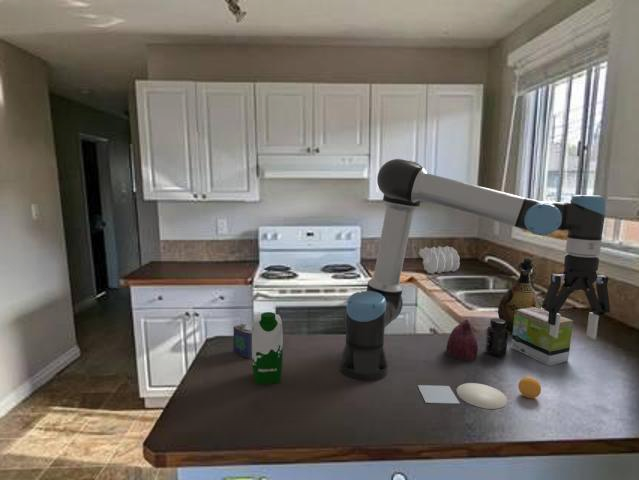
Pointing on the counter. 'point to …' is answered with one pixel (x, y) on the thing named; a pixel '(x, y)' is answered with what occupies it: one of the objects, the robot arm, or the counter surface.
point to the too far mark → (438, 394)
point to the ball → (529, 387)
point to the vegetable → (462, 343)
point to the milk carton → (267, 348)
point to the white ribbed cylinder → (439, 259)
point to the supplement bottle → (496, 338)
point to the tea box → (541, 336)
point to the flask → (242, 341)
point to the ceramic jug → (518, 296)
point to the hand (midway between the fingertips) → (572, 336)
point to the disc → (482, 396)
